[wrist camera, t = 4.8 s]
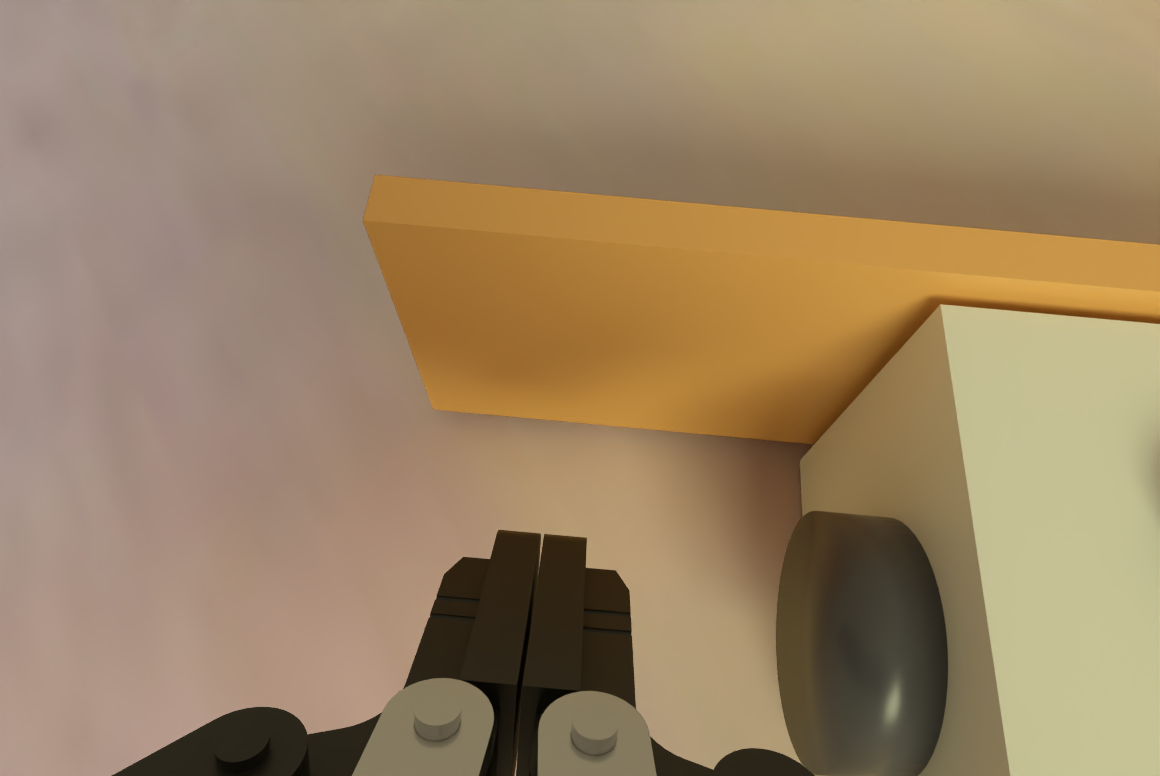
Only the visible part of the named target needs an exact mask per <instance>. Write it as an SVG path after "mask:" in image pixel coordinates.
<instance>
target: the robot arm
mask: <svg viewBox="0 0 1160 776" xmlns="http://www.w3.org/2000/svg"><path fill="white" fill-rule="evenodd" d="M586 543H587V538H583V537H572V536H560V535H549V534H544V540H543V547H542V553H541V560H540V567H539V558H540V544H541V534H539V533H528V532H517V531H505V530H498V532H497V536H496V539H495V543H494V547H493V551H492V555H491V559H481V558H469V557H463V558H462V559H461V560H459V561H458V562H457V563H456V564H455V565H454V566H453V567H452V568H451V569H449V570H448V571H447V572H446V573H445V574H444V576H443V579H442V582H441V585H440V588H439V591H438V593H437V598H436V600H435V602H434V605H433V608H432V610H431V614H430V618H429V619H428V622H427V625H426V627H425V630H424V633H423V636H422V639H421V641H420V644H419V647H418V650H417V653H416V656H415V658H414V661H413V664H412V667H411V670H410V673H409V675H408V678H407V681H406V684H405V686H404V688H403V690H401V691H399V692H398V693H397V694H396V695H395V696H393V697H392V699H391V700H390V701H389V702H388V703H387V705H386V707H385V708H384V710H383V712H382V713H380V714H379V715H377V716H375V717H374V718H372V719H370V720H367V721H365V722H363V723H360V724H357V725H354V726H351V727H346V728H342V729H336V730H331V731H325V732H319V733H314V734H308V735H307V732H306V729H305V727H304V725H303V724H302V722H301V721H300V720H299V719H298V718H297V717H295V716H294V715H293V714H291V713H289V712H287V711H284V710H281V709H278V708H271V707H254V708H246V709H242V710H238V711H234V712H231V713H229V714H226V715H223V716H221V717H219V718H217V719H215V720H213V721H211V722H209V723H208V724H206V725H204V726H202V727H200V728H198V729H197V730H195V731H193V732H191V733H189V734H187V735H186V736H184V737H182V738H180V739H178V740H176V741H175V742H173V743H171V744H169V745H167V746H165V747H164V748H162V749H160V750H158V751H156V752H154V753H153V754H151V755H149V756H147V757H145V758H143V759H142V760H140V761H138V762H136V763H134V764H132V765H131V766H129V767H127V768H125V769H123V770H122V771H120V772H118V773H116V774H114V775H112V776H514V774H515V767H516V760H517V770H516V776H815V775H814V774H813V773H811V772H810V771H809V770H808V769H806V768H805V767H804V766H803V765H801V764H800V763H798V762H796V761H795V760H793V759H791V758H789V757H787V756H785V755H783V754H780V753H777V752H774V751H771V750H765V749H756V748H750V749H741V750H738V751H734V752H732V753H730V754H728V755H726V756H725V757H724V758H722V759H721V760H720V761H719V762H718V764H717V765H716V766H715V768H714V770H712V769H710V768H707V767H704V766H702V765H699V764H696V763H694V762H691V761H688V760H686V759H683V758H681V757H679V756H676V755H674V754H673V753H671V752H669V751H667V750H666V749H664V748H663V747H662V746H660V745H659V744H658V743H656V742H655V741H654V740H653V739H652V738H651V737H650V734H649V730H648V726H647V724H646V722H645V720H644V718H643V717H642V716H641V714H640V713H639V712H638V711H637V710H636V703H635V685H634V667H633V649H632V636H631V617H630V613H631V612H630V594H629V590H628V588H627V587H626V585H625V584H624V582H623V581H622V579H621V578H620V576H619V575H618V573H617V572H616V571H615V570H603V569H592V568H586ZM538 572H539V574H538ZM517 753H518V756H517Z"/></svg>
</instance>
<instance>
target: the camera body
mask: <svg viewBox="0 0 1160 776" xmlns="http://www.w3.org/2000/svg"><path fill="white" fill-rule="evenodd" d="M800 476H801V498H802V518H801V519H800V521H799V522H798V524H797V525H796V527H795V529H794V531H793V533H792V536H791V538H790V541H789V544H788V547H787V550H786V554H785V558H784V562H783V567H782V572H781V578H780V585H779V593H778V603H777V619H776V653H777V670H778V681H779V689H780V696H781V702H782V708H783V713H784V718H785V722H786V726H787V729H788V733H789V736H790V739H791V742H792V745H793V747H794V749H795V752H796V754H797V756H798V757H799V759H800V761H801V763H802V764H803V765H804V766H805V768H806V769H808V770H809V771H810V772H811V773H813V774H814V775H815V776H1160V324H1153V323H1142V322H1131V321H1120V320H1109V319H1097V318H1086V317H1075V316H1064V315H1053V314H1042V313H1031V312H1020V311H1009V310H998V309H986V308H975V307H964V306H953V305H942V304H940V305H939V307H938V308H937V309H936V310H935V311H934V312H933V313H932V314H931V315H930V317H929V318H928V319H927V320H926V321H925V322H924V323H923V324H922V325H921V327H920V328H919V329H918V330H917V331H916V332H915V333H914V334H913V335H912V337H911V338H910V339H909V340H908V341H907V342H906V343H905V344H904V345H903V346H902V348H901V349H900V350H899V351H898V352H897V353H896V354H895V355H894V356H893V358H892V359H891V360H890V361H889V362H888V363H887V364H886V365H885V366H884V368H883V369H882V370H881V371H880V372H879V373H878V374H877V375H876V376H875V378H874V379H873V380H872V381H871V382H870V383H869V384H868V385H867V386H866V388H865V389H864V390H863V391H862V392H861V393H860V394H859V395H858V396H857V398H856V399H855V400H854V401H853V402H852V403H851V404H850V405H849V406H848V408H847V409H846V410H845V411H844V412H843V413H842V414H841V415H840V416H839V418H838V419H837V420H836V421H835V422H834V423H833V424H832V425H831V426H830V428H829V429H828V430H827V431H826V432H825V433H824V434H823V435H822V436H821V437H820V439H819V440H818V441H817V442H816V443H815V444H814V445H813V446H812V447H811V449H810V450H809V451H808V452H807V453H806V454H805V455H804V456H803V457H802V459H801V460H800Z"/></svg>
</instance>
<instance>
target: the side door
mask: <svg viewBox="0 0 1160 776" xmlns="http://www.w3.org/2000/svg"><path fill="white" fill-rule="evenodd" d="M363 222H364V225H365V228H366V230H367V233H368V236H369V238H370V241H371V244H372V246H373V249H374V252H375V254H376V257H377V260H378V262H379V265H380V268H381V270H382V273H383V276H384V278H385V281H386V284H387V286H388V289H389V292H390V294H391V297H392V300H393V302H394V305H395V308H396V311H397V313H398V316H399V319H400V321H401V324H402V327H403V329H404V332H405V335H406V337H407V340H408V343H409V345H410V348H411V351H412V353H413V356H414V359H415V361H416V364H417V367H418V369H419V372H420V375H421V377H422V380H423V383H424V385H425V388H426V391H427V393H428V396H429V399H430V401H431V404H432V407H433V409H435V410H445V411H456V412H467V413H478V414H489V415H500V416H511V417H522V418H533V419H544V420H554V421H565V422H576V423H587V424H598V425H609V426H620V427H631V428H642V429H652V430H663V431H674V432H685V433H696V434H707V435H718V436H729V437H740V438H750V439H761V440H772V441H783V442H794V443H805V444H815V443H816V442H817V441H818V440H819V439H820V437H821V436H822V435H823V434H824V433H825V432H826V431H827V430H828V429H829V428H830V426H831V425H832V424H833V423H834V422H835V421H836V420H837V419H838V418H839V416H840V415H841V414H842V413H843V412H844V411H845V410H846V409H847V408H848V406H849V405H850V404H851V403H852V402H853V401H854V400H855V399H856V398H857V396H858V395H859V394H860V393H861V392H862V391H863V390H864V389H865V388H866V386H867V385H868V384H869V383H870V382H871V381H872V380H873V379H874V378H875V376H876V375H877V374H878V373H879V372H880V371H881V370H882V369H883V368H884V366H885V365H886V364H887V363H888V362H889V361H890V360H891V359H892V358H893V356H894V355H895V354H896V353H897V352H898V351H899V350H900V349H901V348H902V346H903V345H904V344H905V343H906V342H907V341H908V340H909V339H910V338H911V337H912V335H913V334H914V333H915V332H916V331H917V330H918V329H919V328H920V327H921V325H922V324H923V323H924V322H925V321H926V320H927V319H928V318H929V317H930V315H931V314H932V313H933V312H934V311H935V310H936V309H937V308H938V307H939V305H940V304H942V305H953V306H964V307H975V308H986V309H998V310H1009V311H1020V312H1031V313H1042V314H1053V315H1064V316H1075V317H1086V318H1097V319H1109V320H1120V321H1131V322H1142V323H1153V324H1160V245H1157V244H1146V243H1135V242H1124V241H1113V240H1101V239H1090V238H1079V237H1068V236H1056V235H1045V234H1034V233H1023V232H1012V231H1000V230H989V229H978V228H967V227H956V226H944V225H933V224H922V223H911V222H900V221H888V220H877V219H866V218H855V217H844V216H832V215H821V214H810V213H799V212H787V211H776V210H765V209H754V208H743V207H731V206H720V205H709V204H698V203H687V202H675V201H664V200H653V199H642V198H631V197H619V196H608V195H597V194H586V193H575V192H563V191H552V190H541V189H530V188H518V187H507V186H496V185H485V184H474V183H462V182H451V181H440V180H429V179H418V178H406V177H395V176H384V175H375V176H374V180H373V184H372V188H371V191H370V195H369V199H368V203H367V206H366V210H365V214H364V218H363Z"/></svg>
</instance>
